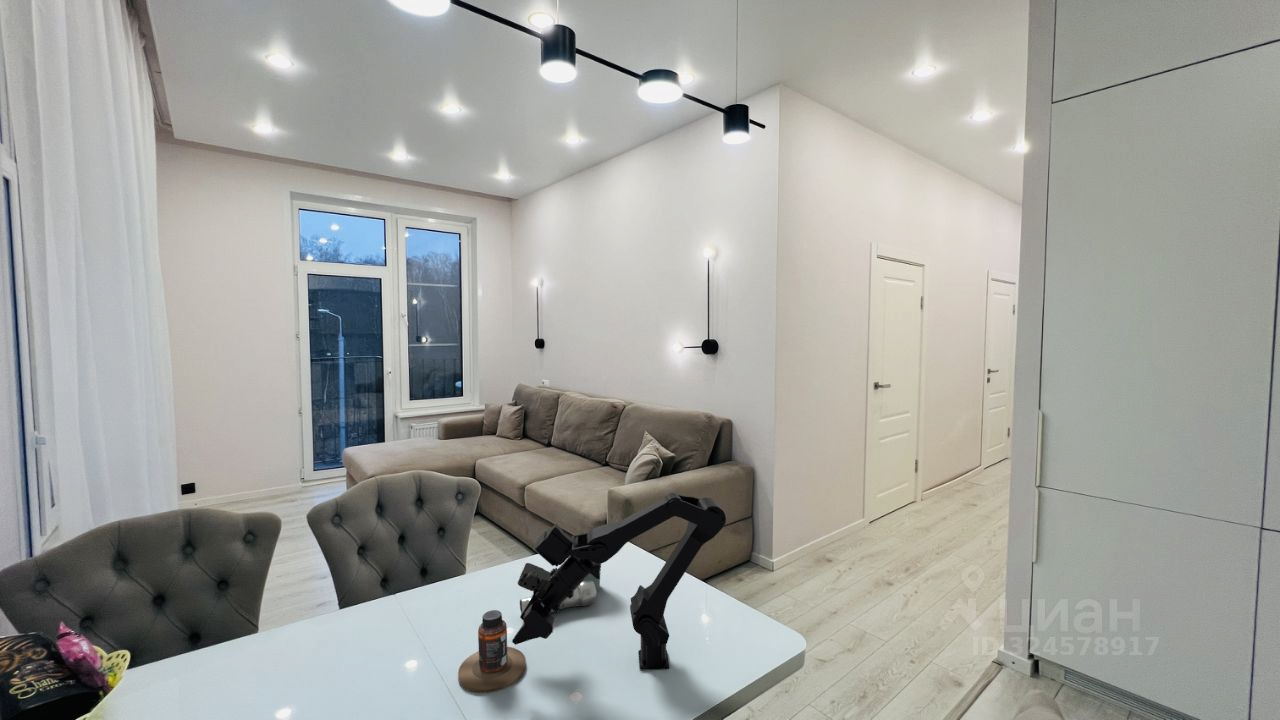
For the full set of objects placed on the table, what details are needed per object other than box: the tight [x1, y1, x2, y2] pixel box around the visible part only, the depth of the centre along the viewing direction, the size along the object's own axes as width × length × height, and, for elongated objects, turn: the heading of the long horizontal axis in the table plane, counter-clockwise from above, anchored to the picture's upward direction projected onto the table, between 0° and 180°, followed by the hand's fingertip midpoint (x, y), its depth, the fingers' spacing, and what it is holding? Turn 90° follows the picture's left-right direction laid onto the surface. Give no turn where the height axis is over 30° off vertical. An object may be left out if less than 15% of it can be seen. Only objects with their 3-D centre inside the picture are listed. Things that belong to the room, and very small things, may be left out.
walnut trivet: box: [457, 646, 527, 694], centre depth 111 cm, size 14×14×1 cm
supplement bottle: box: [477, 609, 508, 673], centre depth 111 cm, size 6×6×11 cm
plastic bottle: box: [519, 579, 597, 615], centre depth 135 cm, size 6×7×20 cm
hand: (517, 630), depth 111 cm, fingers open, 9 cm apart
